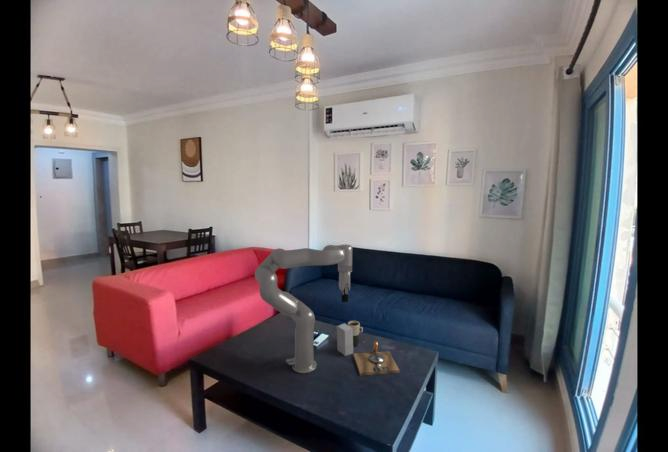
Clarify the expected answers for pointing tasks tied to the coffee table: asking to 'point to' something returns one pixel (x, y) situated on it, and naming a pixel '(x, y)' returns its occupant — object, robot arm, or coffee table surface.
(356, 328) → the character mug
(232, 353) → the coffee table surface
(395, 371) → the stand
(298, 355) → the robot arm
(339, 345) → the skincare box
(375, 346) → the cam capstan
